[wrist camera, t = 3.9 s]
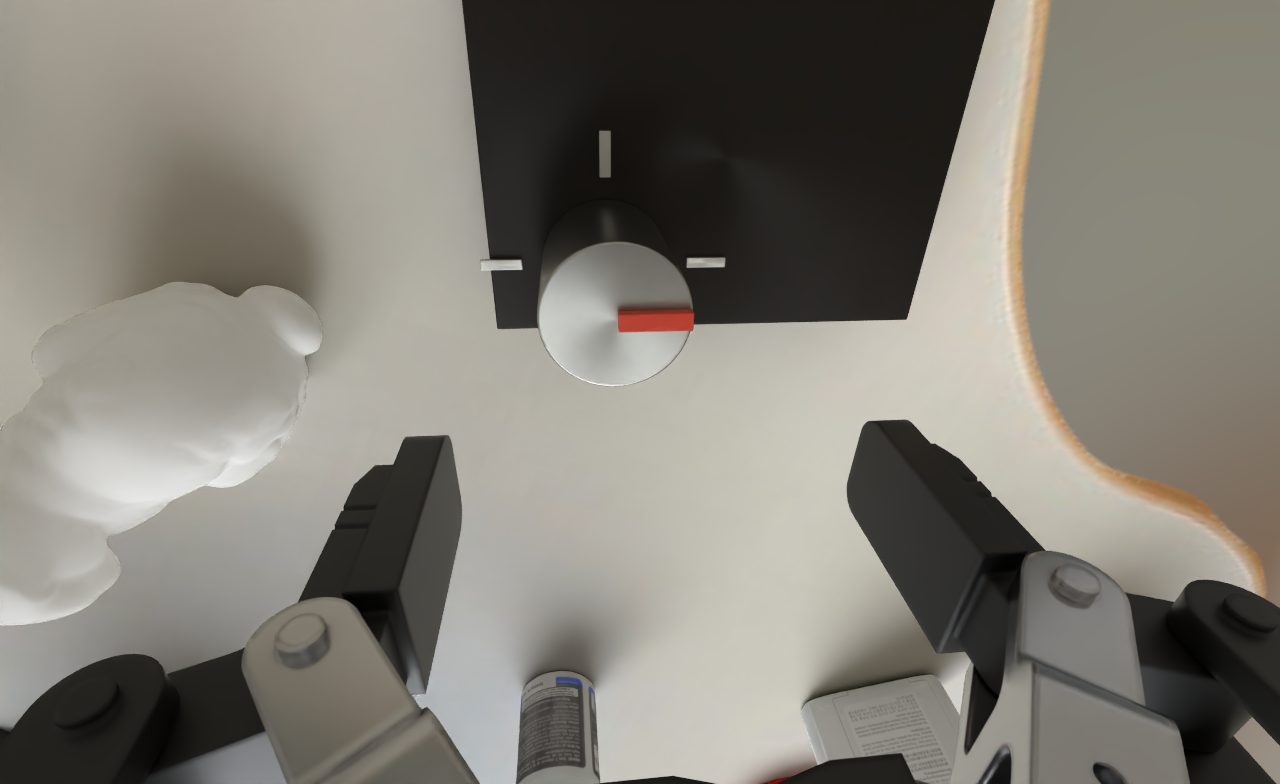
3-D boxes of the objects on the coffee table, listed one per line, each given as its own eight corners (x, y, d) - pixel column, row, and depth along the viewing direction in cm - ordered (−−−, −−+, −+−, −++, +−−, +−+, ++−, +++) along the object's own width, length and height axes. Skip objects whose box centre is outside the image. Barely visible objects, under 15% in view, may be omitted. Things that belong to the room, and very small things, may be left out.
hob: (501, 339, 25) (493, 374, 22) (458, -68, 18) (439, -88, 15) (864, 330, 27) (897, 362, 24) (953, -44, 20) (1015, -58, 17)
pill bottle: (506, 696, 38) (492, 849, 30) (556, 659, 36) (554, 810, 29) (560, 721, 40) (560, 870, 32) (610, 687, 38) (621, 835, 31)
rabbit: (194, 488, 27) (-32, 758, 17) (-25, 338, 23) (-515, 582, 12) (392, 351, 25) (270, 568, 14) (192, 153, 20) (-191, 265, 10)
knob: (546, 321, 22) (541, 395, 17) (538, 198, 19) (530, 245, 15) (664, 319, 22) (690, 389, 18) (670, 199, 20) (701, 244, 15)
